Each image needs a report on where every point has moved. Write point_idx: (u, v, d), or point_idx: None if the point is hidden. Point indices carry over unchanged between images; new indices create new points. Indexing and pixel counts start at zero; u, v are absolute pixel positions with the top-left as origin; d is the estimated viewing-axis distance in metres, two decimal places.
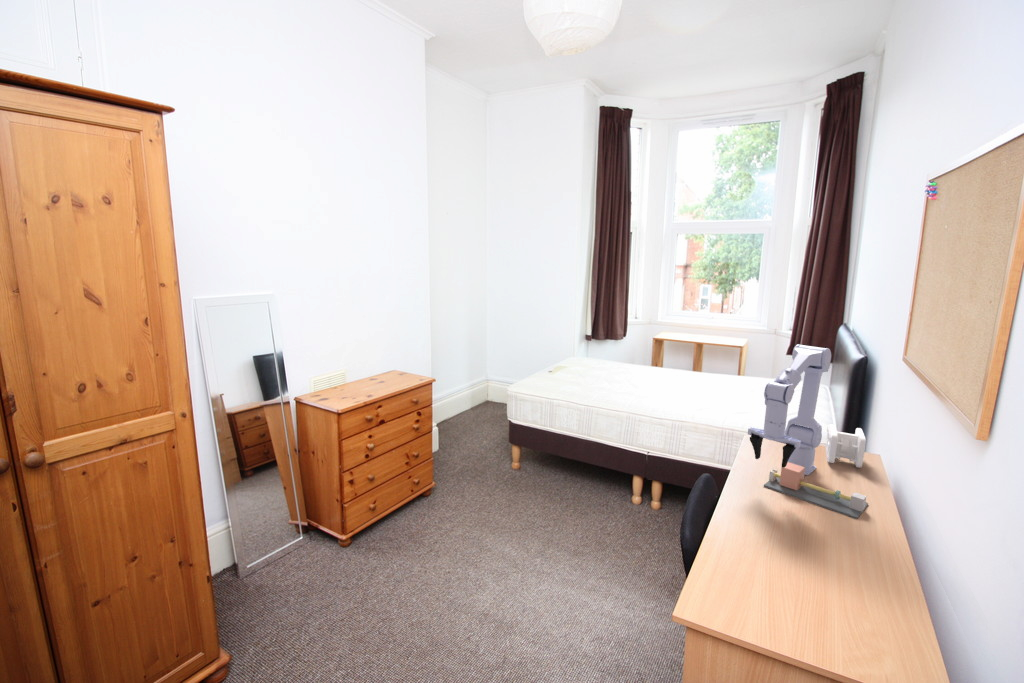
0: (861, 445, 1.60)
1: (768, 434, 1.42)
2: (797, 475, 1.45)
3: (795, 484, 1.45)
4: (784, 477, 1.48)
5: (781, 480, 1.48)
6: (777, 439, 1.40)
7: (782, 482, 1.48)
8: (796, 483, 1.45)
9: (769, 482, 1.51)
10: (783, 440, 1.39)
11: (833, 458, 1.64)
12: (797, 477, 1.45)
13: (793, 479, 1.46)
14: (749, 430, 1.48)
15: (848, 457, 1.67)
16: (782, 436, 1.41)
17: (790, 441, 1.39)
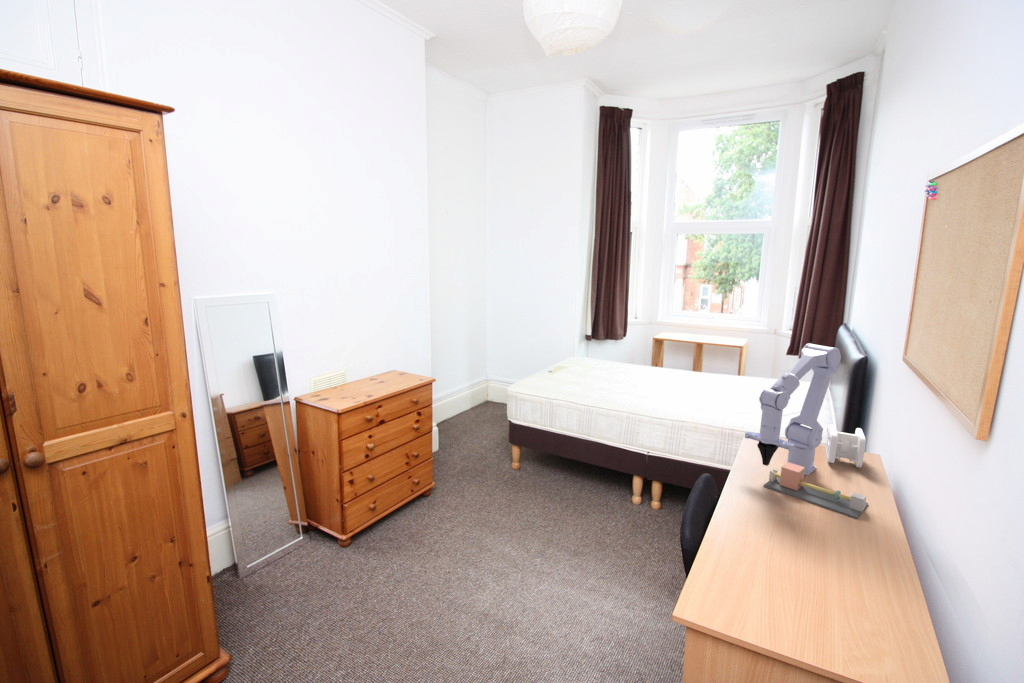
0: (861, 445, 1.60)
1: (764, 438, 1.51)
2: (797, 475, 1.45)
3: (795, 484, 1.45)
4: (784, 477, 1.48)
5: (781, 480, 1.48)
6: (772, 442, 1.49)
7: (782, 482, 1.48)
8: (796, 483, 1.45)
9: (769, 482, 1.51)
10: (778, 443, 1.49)
11: (833, 458, 1.64)
12: (797, 477, 1.45)
13: (793, 479, 1.46)
14: (746, 434, 1.57)
15: (848, 457, 1.67)
16: (777, 440, 1.50)
17: (784, 444, 1.48)
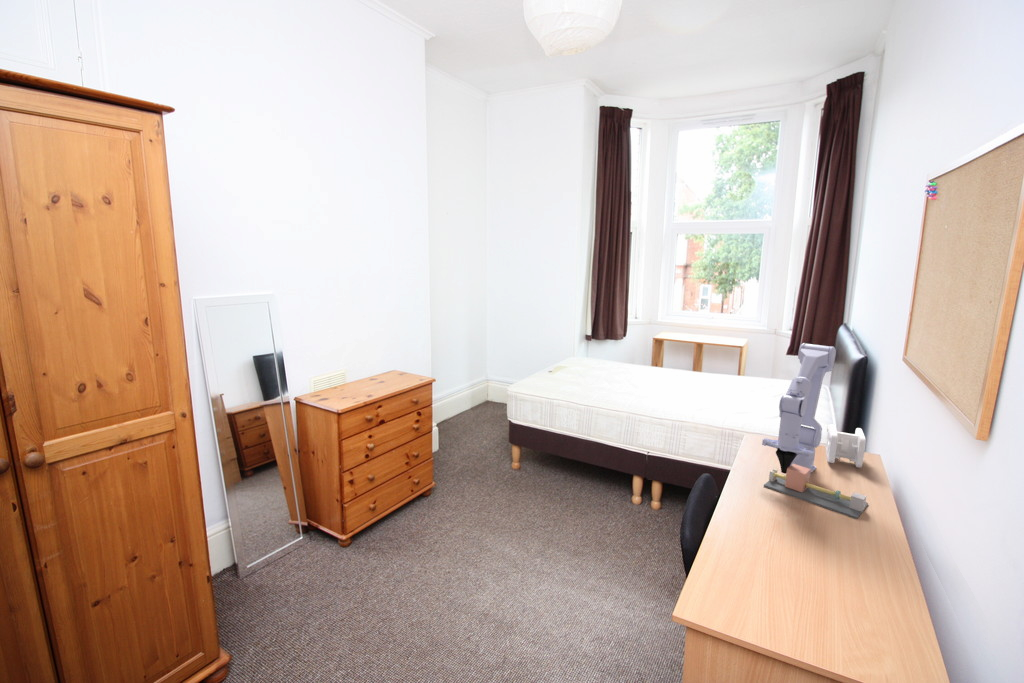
0: (861, 445, 1.60)
1: (782, 445, 1.47)
2: (803, 477, 1.44)
3: (800, 486, 1.44)
4: (789, 479, 1.46)
5: (786, 482, 1.47)
6: (791, 450, 1.45)
7: (787, 484, 1.47)
8: (802, 485, 1.44)
9: (769, 482, 1.51)
10: (797, 451, 1.45)
11: (833, 458, 1.64)
12: (803, 479, 1.44)
13: (798, 481, 1.45)
14: (763, 441, 1.53)
15: (848, 457, 1.67)
16: (796, 447, 1.46)
17: (804, 452, 1.44)
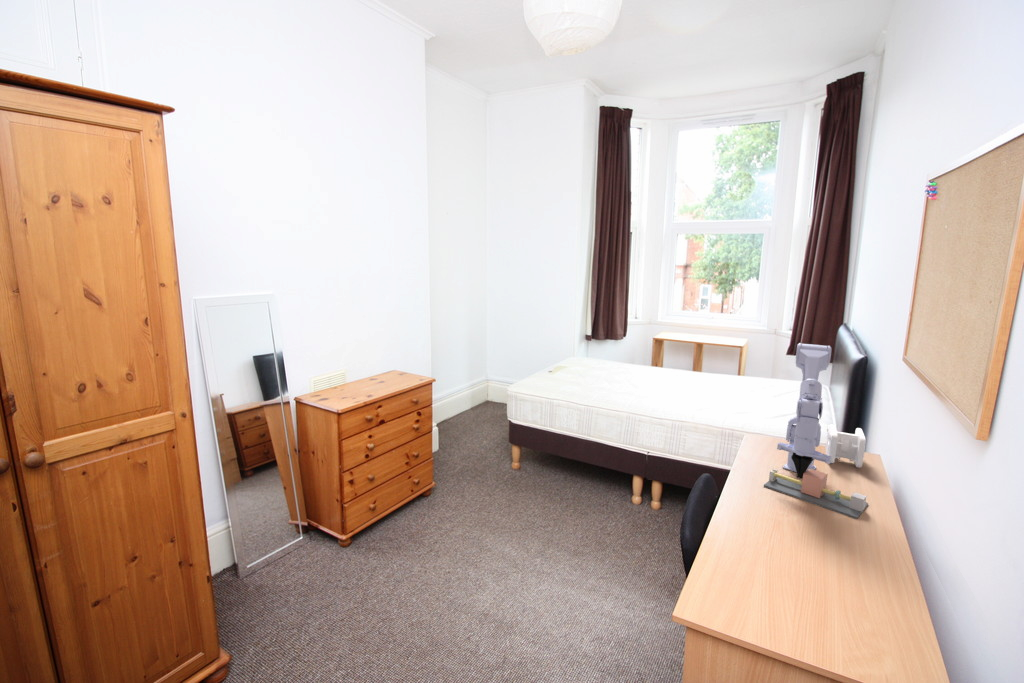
0: (861, 445, 1.60)
1: (798, 450, 1.44)
2: (820, 482, 1.40)
3: (817, 491, 1.41)
4: (806, 484, 1.43)
5: (803, 487, 1.44)
6: (808, 455, 1.42)
7: (804, 489, 1.44)
8: (819, 490, 1.41)
9: (769, 482, 1.51)
10: (814, 456, 1.41)
11: (833, 458, 1.64)
12: (820, 484, 1.40)
13: (815, 486, 1.41)
14: (779, 445, 1.49)
15: (848, 457, 1.67)
16: (813, 452, 1.42)
17: (821, 457, 1.40)
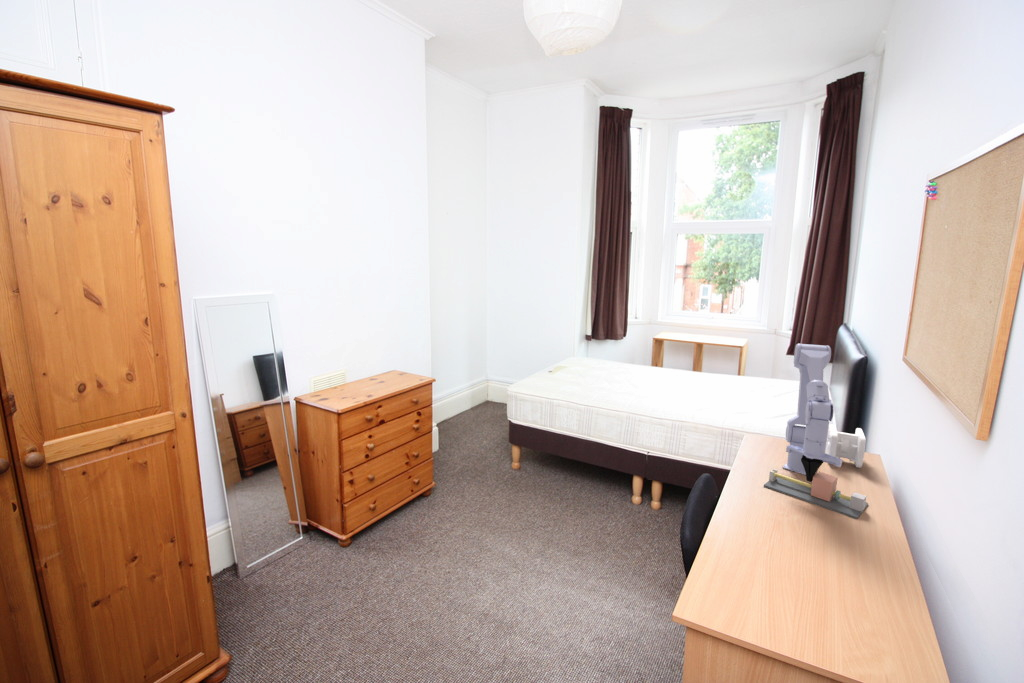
0: (861, 445, 1.60)
1: (808, 452, 1.42)
2: (830, 485, 1.38)
3: (828, 495, 1.39)
4: (816, 487, 1.41)
5: (812, 490, 1.42)
6: (818, 458, 1.40)
7: (813, 493, 1.42)
8: (829, 494, 1.39)
9: (769, 482, 1.51)
10: (824, 459, 1.39)
11: None
12: (830, 488, 1.38)
13: (825, 490, 1.39)
14: (788, 448, 1.47)
15: (848, 457, 1.67)
16: (823, 455, 1.40)
17: (831, 460, 1.38)
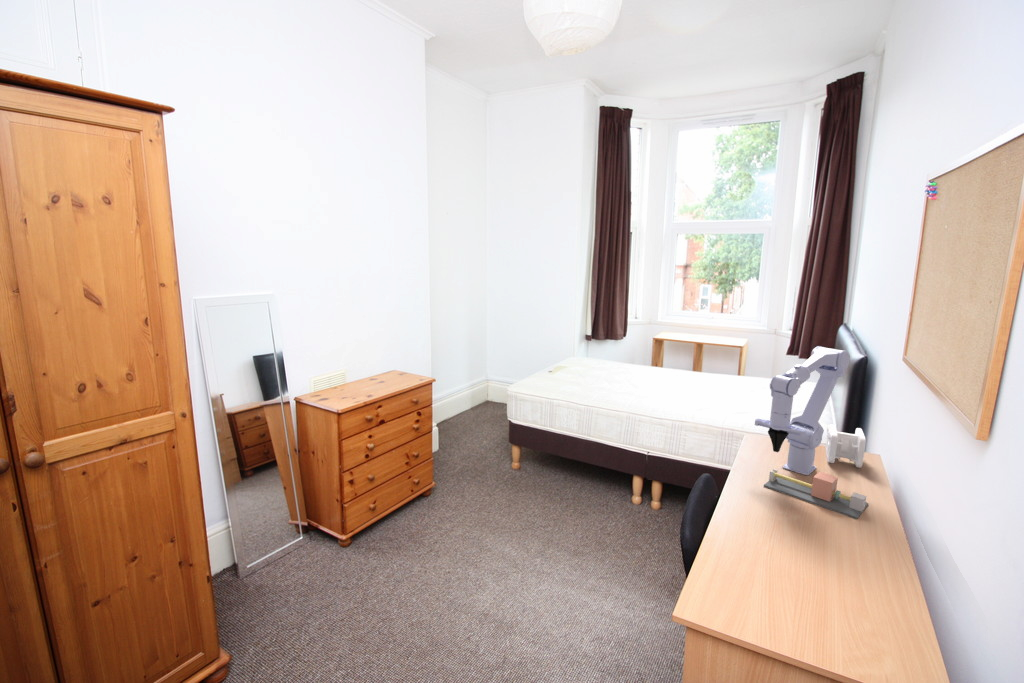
0: (861, 445, 1.60)
1: (774, 424, 1.51)
2: (830, 486, 1.38)
3: (828, 495, 1.39)
4: (816, 487, 1.41)
5: (813, 491, 1.42)
6: (783, 429, 1.50)
7: (814, 493, 1.42)
8: (829, 494, 1.39)
9: (769, 482, 1.51)
10: (789, 430, 1.49)
11: (833, 458, 1.64)
12: (830, 488, 1.38)
13: (826, 490, 1.39)
14: (756, 421, 1.57)
15: (848, 457, 1.67)
16: (787, 426, 1.50)
17: (795, 431, 1.48)
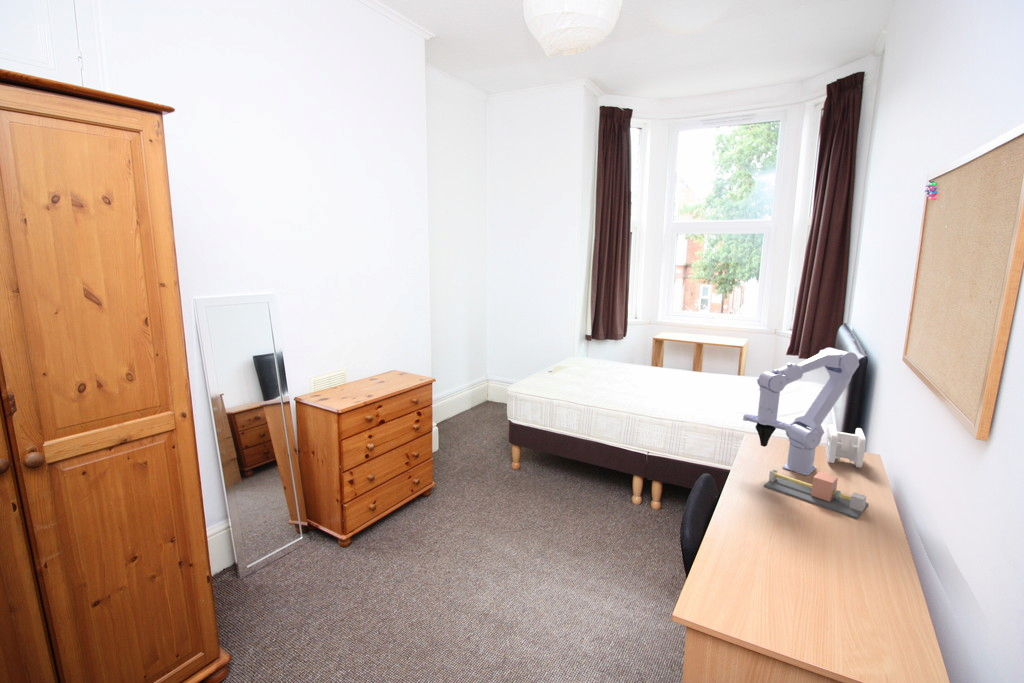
0: (861, 445, 1.60)
1: (761, 419, 1.56)
2: (830, 486, 1.38)
3: (828, 495, 1.39)
4: (816, 487, 1.41)
5: (813, 491, 1.42)
6: (769, 424, 1.54)
7: (814, 493, 1.42)
8: (829, 494, 1.39)
9: (769, 482, 1.51)
10: (775, 425, 1.53)
11: (833, 458, 1.64)
12: (830, 488, 1.38)
13: (826, 490, 1.39)
14: (744, 416, 1.61)
15: (848, 457, 1.67)
16: (774, 421, 1.54)
17: (781, 425, 1.52)
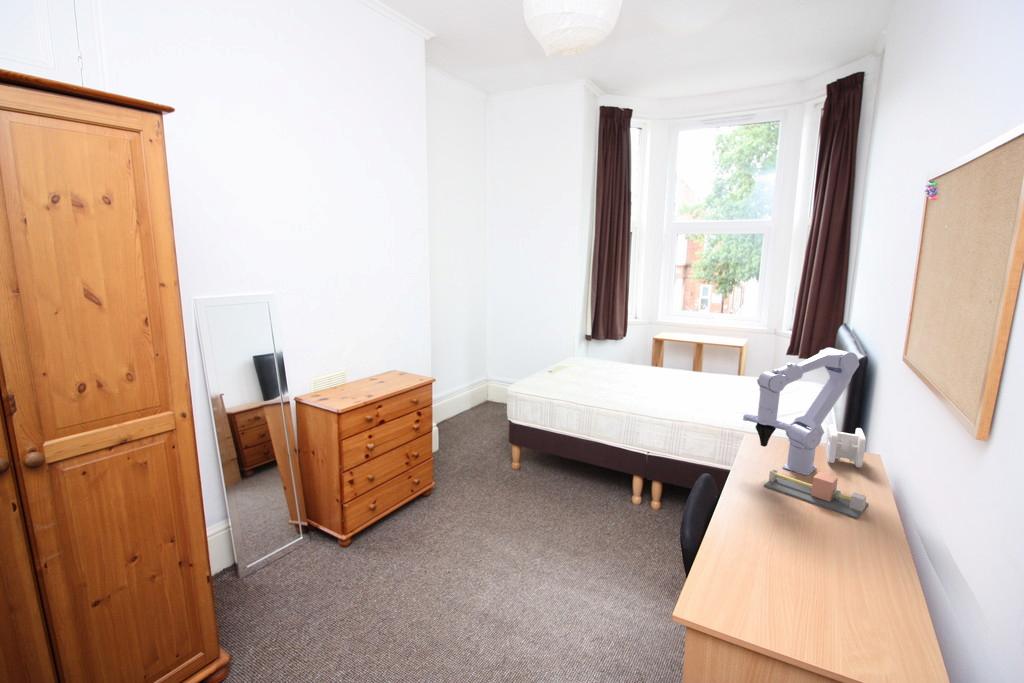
0: (861, 445, 1.60)
1: (761, 419, 1.56)
2: (830, 486, 1.38)
3: (828, 495, 1.39)
4: (816, 487, 1.41)
5: (813, 491, 1.42)
6: (769, 424, 1.54)
7: (814, 493, 1.42)
8: (829, 494, 1.39)
9: (769, 482, 1.51)
10: (775, 425, 1.53)
11: (833, 458, 1.64)
12: (830, 488, 1.38)
13: (826, 490, 1.39)
14: (744, 416, 1.61)
15: (848, 457, 1.67)
16: (774, 421, 1.54)
17: (781, 425, 1.52)
